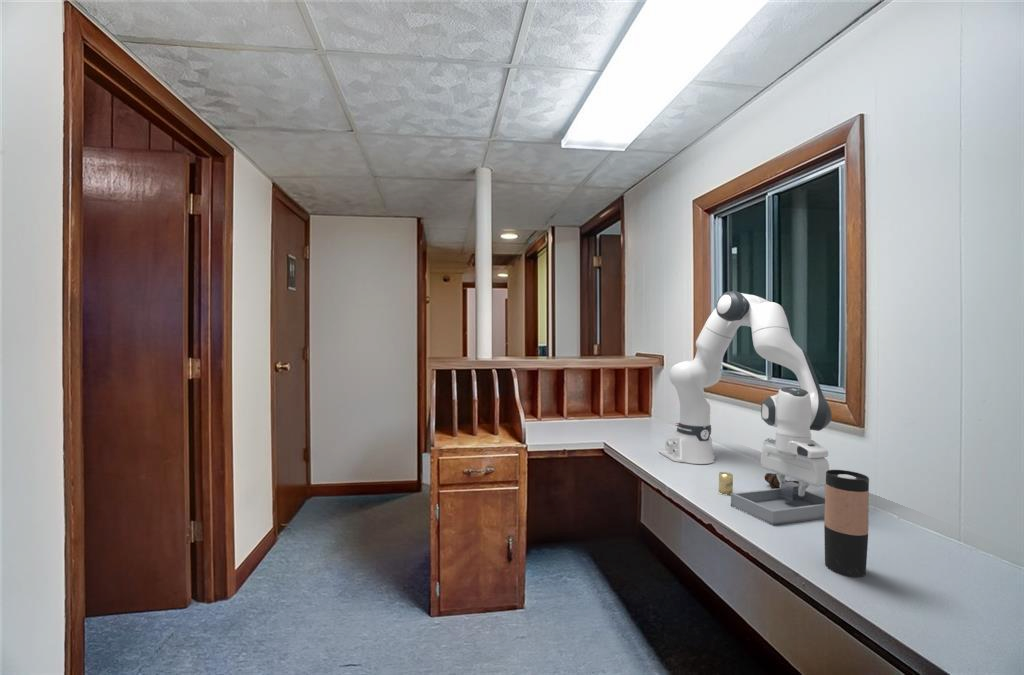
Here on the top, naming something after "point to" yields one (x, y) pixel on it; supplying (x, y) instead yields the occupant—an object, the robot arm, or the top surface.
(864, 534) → the travel mug
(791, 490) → the steel block
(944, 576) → the top surface
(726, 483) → the brass cylinder
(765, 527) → the top surface
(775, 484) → the bolt
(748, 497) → the parts tray
